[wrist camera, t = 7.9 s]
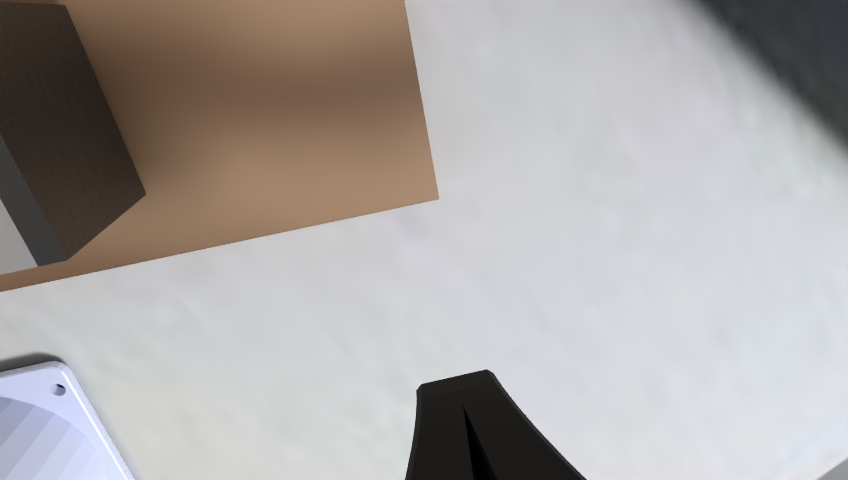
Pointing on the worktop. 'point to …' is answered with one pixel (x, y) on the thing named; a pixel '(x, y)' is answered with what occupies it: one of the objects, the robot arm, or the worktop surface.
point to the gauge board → (250, 120)
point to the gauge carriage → (54, 142)
